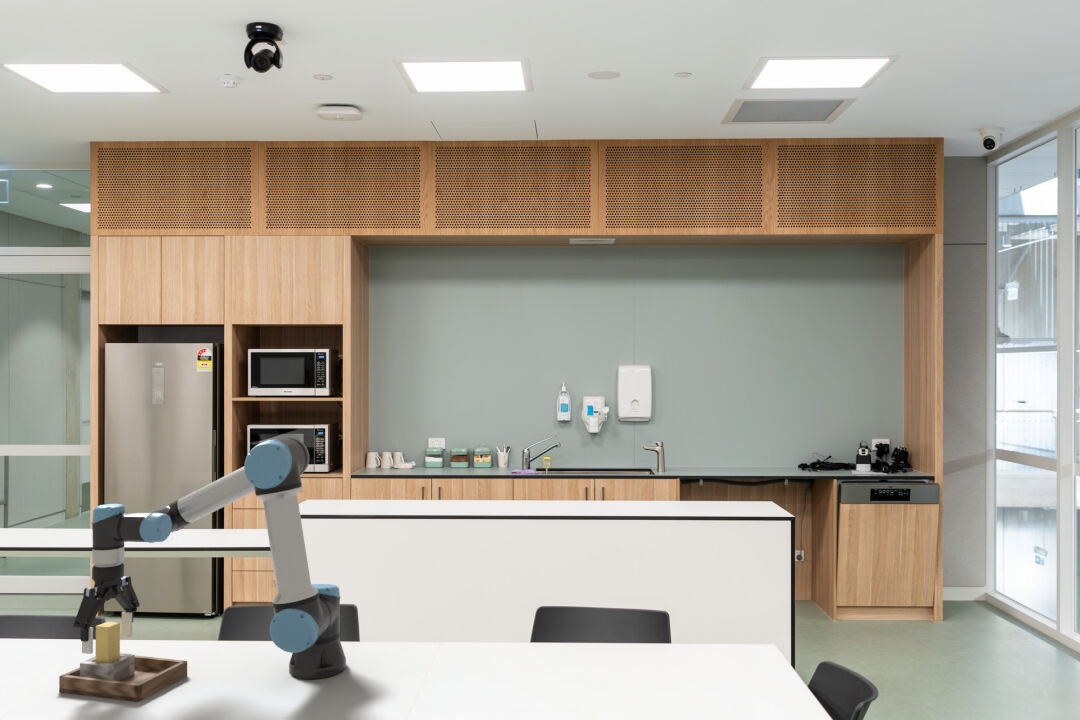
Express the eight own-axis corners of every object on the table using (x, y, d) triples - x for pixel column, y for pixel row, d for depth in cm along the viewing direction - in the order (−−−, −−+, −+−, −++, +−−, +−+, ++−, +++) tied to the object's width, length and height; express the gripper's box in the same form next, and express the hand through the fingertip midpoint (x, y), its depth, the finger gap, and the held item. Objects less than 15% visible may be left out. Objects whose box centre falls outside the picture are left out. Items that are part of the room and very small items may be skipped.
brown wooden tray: (187, 675, 222) (187, 653, 222) (138, 701, 204) (138, 677, 204) (112, 667, 228) (113, 645, 228) (59, 692, 210) (59, 668, 211)
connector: (119, 675, 219) (120, 622, 219) (108, 681, 215) (108, 627, 215) (107, 674, 220) (107, 621, 220) (95, 679, 216) (95, 626, 216)
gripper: (131, 552, 231) (130, 628, 231) (57, 574, 207) (57, 659, 207) (153, 554, 229) (153, 631, 229) (82, 576, 205) (81, 662, 205)
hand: (107, 644), depth 218 cm, fingers open, 13 cm apart
